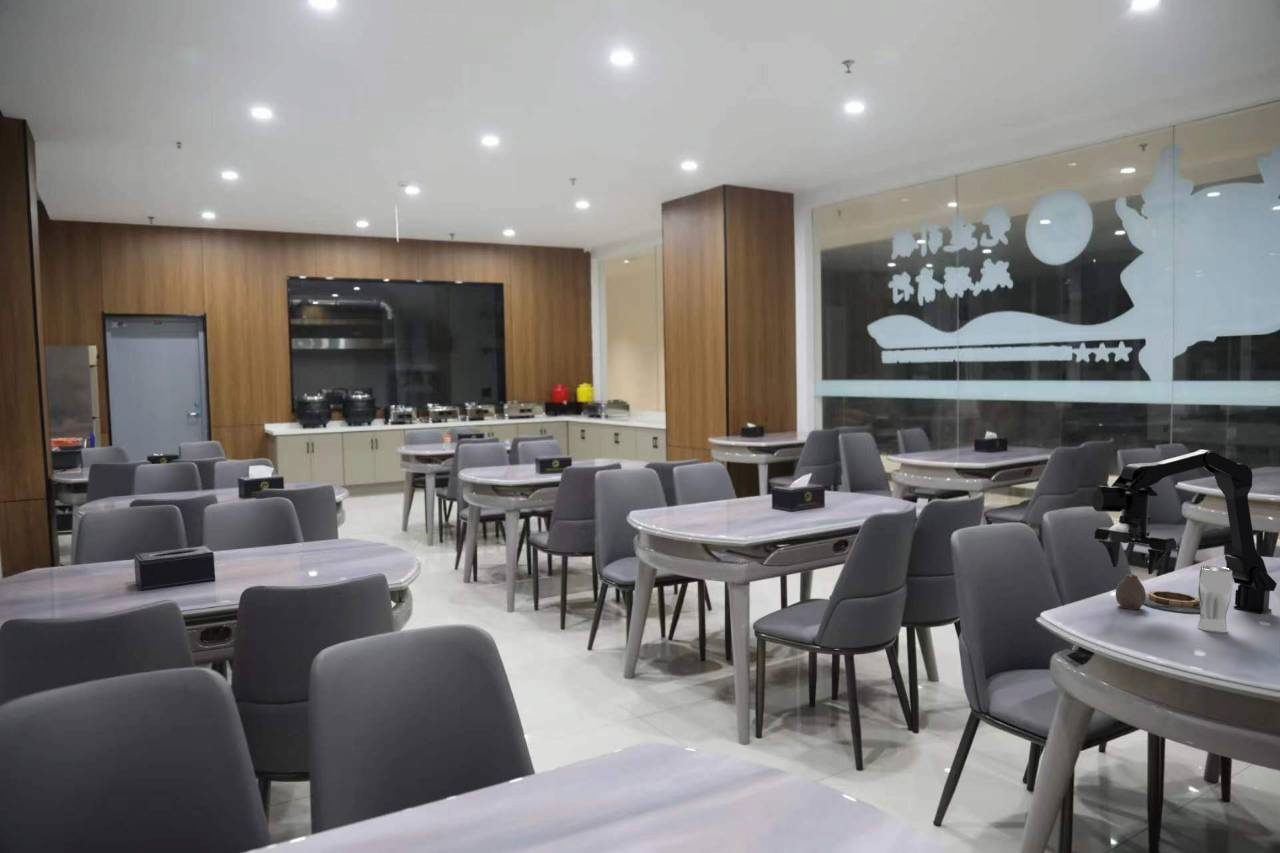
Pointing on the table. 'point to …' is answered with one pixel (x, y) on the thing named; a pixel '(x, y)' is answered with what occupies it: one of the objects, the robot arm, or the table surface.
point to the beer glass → (1214, 597)
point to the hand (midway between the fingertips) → (1132, 570)
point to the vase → (1130, 592)
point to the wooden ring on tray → (1173, 601)
